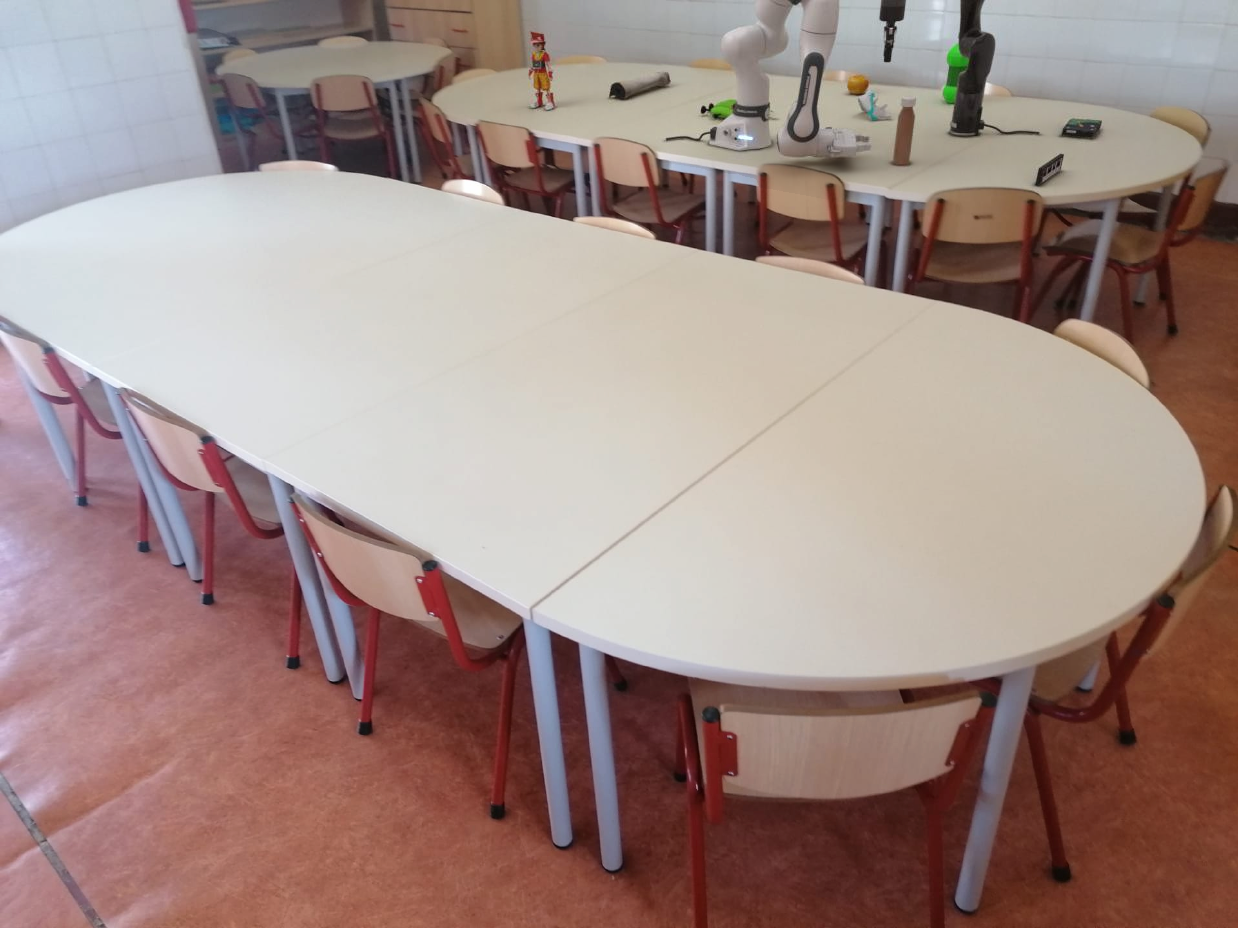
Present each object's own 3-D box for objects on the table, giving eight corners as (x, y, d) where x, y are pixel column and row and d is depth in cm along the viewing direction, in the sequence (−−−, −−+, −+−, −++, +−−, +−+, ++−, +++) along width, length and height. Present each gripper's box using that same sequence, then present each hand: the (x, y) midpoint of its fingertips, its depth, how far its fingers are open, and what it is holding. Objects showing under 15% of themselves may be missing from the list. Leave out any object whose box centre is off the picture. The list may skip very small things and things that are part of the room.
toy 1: (525, 109, 381) (517, 32, 364) (534, 104, 388) (527, 28, 371) (550, 110, 377) (543, 32, 360) (559, 105, 384) (553, 28, 367)
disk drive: (1093, 139, 305) (1100, 128, 315) (1095, 131, 303) (1102, 120, 313) (1060, 136, 309) (1068, 125, 319) (1062, 128, 308) (1070, 117, 318)
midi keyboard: (1039, 185, 269) (1043, 168, 266) (1035, 184, 270) (1038, 168, 267) (1060, 170, 279) (1064, 154, 277) (1056, 169, 280) (1060, 153, 277)
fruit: (842, 86, 371) (854, 68, 368) (844, 90, 378) (856, 72, 375) (859, 97, 369) (871, 79, 366) (861, 100, 377) (873, 83, 374)
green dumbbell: (973, 101, 354) (984, 32, 339) (955, 106, 349) (966, 36, 335) (952, 97, 361) (962, 29, 346) (934, 102, 356) (944, 33, 342)
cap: (898, 106, 284) (899, 98, 283) (904, 103, 287) (905, 95, 286) (911, 107, 282) (912, 100, 281) (917, 104, 285) (918, 97, 283)
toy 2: (691, 117, 351) (761, 130, 338) (692, 103, 348) (762, 116, 335) (722, 107, 371) (789, 118, 359) (724, 93, 368) (791, 105, 356)
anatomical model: (852, 89, 345) (878, 82, 344) (855, 116, 351) (880, 109, 350) (864, 98, 333) (891, 91, 332) (866, 126, 338) (893, 119, 338)
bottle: (889, 164, 295) (897, 100, 283) (896, 159, 298) (904, 96, 286) (904, 166, 292) (913, 101, 280) (911, 162, 295) (920, 98, 284)
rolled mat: (651, 76, 408) (662, 61, 399) (662, 93, 408) (674, 79, 400) (605, 92, 391) (616, 77, 383) (617, 110, 391) (628, 95, 383)
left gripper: (828, 142, 285) (873, 142, 282) (826, 125, 301) (869, 125, 299) (826, 162, 288) (870, 162, 286) (825, 144, 305) (867, 144, 303)
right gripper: (906, 7, 273) (899, 64, 282) (905, 0, 284) (898, 55, 294) (881, 7, 275) (874, 64, 284) (880, 0, 286) (874, 55, 295)
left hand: (870, 143), depth 293 cm, fingers open, 8 cm apart
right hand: (886, 59), depth 289 cm, fingers open, 8 cm apart
